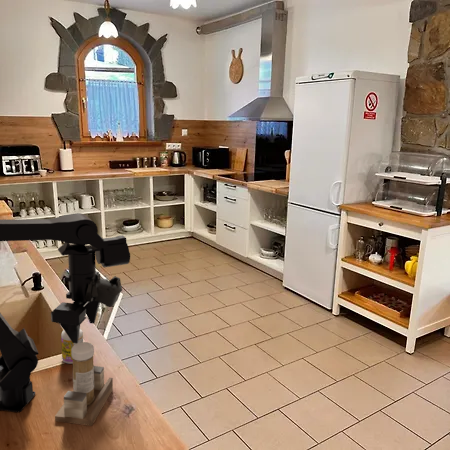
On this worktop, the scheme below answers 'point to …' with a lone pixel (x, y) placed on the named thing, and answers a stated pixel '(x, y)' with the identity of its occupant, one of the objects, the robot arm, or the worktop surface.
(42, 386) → the worktop surface
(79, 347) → the sprinkles bottle
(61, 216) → the robot arm
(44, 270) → the worktop surface
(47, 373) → the worktop surface
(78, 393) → the walnut spice rack
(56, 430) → the worktop surface
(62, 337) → the supplement bottle
